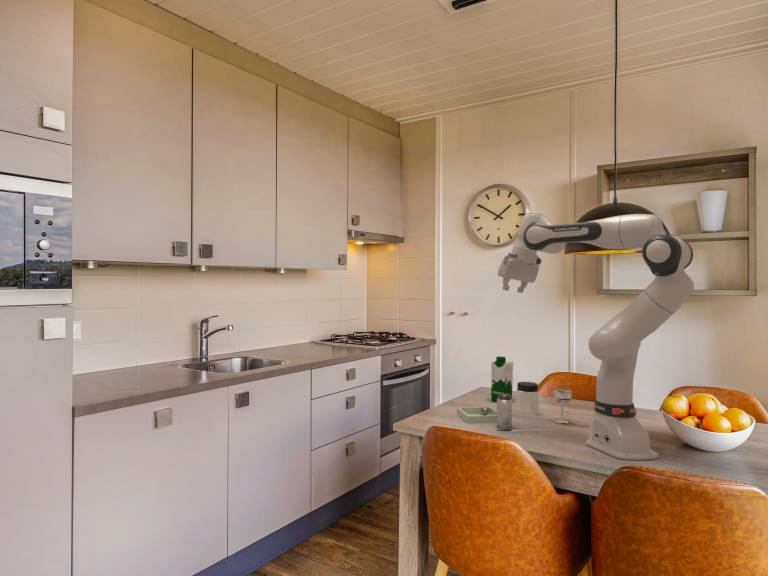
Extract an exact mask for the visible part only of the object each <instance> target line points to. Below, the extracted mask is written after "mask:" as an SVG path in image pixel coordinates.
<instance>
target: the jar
mask: <svg viewBox="0 0 768 576" xmlns="http://www.w3.org/2000/svg"><path fill="white" fill-rule="evenodd" d="M515 390H516V393H515V394H516V395H515V397H516V398H515V400H516V401H515V411H517V412H518V413H520V414H528V415H534V416H537V415H539V409H540V408H539V407H540V405H539V401H540V392H539V384H538V383H536V382H533V381H532V382H531V381H519V382H517V387H516V389H515Z"/></svg>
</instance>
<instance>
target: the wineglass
mask: <svg viewBox="0 0 768 576" xmlns="http://www.w3.org/2000/svg"><path fill="white" fill-rule="evenodd" d="M572 393H573V392H572V390H571V389H564V388H554V389H553V395H552V397H553V399H554V401H555V403H558V404H559V405H560V407H561V409H560V411H561V412H560V414H561V415H560V416H561V417H560V418H561V419H558V420H557V419H556V420H554V422H555V423H557V424H561V423H567V424H569V423H568V422H569V421H567V420H565V419H563V417H564V406H565V405H566V404H568V403H570V402H571V400H572V398H573V397H572Z"/></svg>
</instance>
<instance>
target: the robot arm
mask: <svg viewBox="0 0 768 576" xmlns="http://www.w3.org/2000/svg"><path fill="white" fill-rule="evenodd" d="M568 243H583V244H589V245H593V246H596V247H599V248H602V249H609V250H627V249H642V252H641V255H642V258H643V261H644V262H645V264H646V265H647V267H648V268H649V270H650V271H651V273H652V275H653V276H655V277H654V279H653V280H652V281H651V282H650V283H649V284H648V286H646V288H644V290H642V291H641V293H639V294H638V295H637V296H636V297H635V298H634V299H633V300H632V301H631V302H630V303H629V304H628V305H627V306H626V307H624V308H623V309H622V310H621V311H619V313H617V314H615V316H613V317H611V319H609V320H608V321H607V322H606V323H605V324H603V325H602V326H601V327H600V328H599V329H598V330H596V331H595V332H594V333H593V334H591V336H590V337H589V339H588V350H589V352H590V353H591V355H592V356H593V357H595V358H596V359H598V360H600V361H601V362H600V366H599V369H598V371H597V372H598V373H597V375H596V385H595V386H596V389H595V391H596V392H595V393H596V394H595V396H596V397H595V399H594V403H593V405H594V408H593V409H594V415H593V417H592V418H591V421H590V427H589V436H588V439H587V440H586V441H585V445H587V446H589V447H591V448H593V449H596V450H597V451H600V452H602V453H605V454H606V455H609V456H611V457H614V458H616V459H619V460H631V461H637V460H638V461H639V460H641V461H643V460H645V461H646V460H654V459H658V458H659V457H660V456H659V453H658V452H657V451H655V450H654V449H652V448H651V443H650V433H649V431H647V430H645V428H644V427H643V425H642V424H641V423H640V421H639V420H638V418H637V413H638V408H637V409H636V407H635V403H634V402H633V401H634V400H633V398H634V396H633V395H634V393H633V392H634V376H635V372H636V371H635V370H636V367H637V361H638V356H639V349H640V347H641V344H642V341H644V340H645V339H646V338H647V337H649V336H650V335H651V334H653V333H654V332H656V331H657V330H658V329H659V328H660V327H661V326H662V325H663V324H665V322H667V320H669V319H670V318H671V317H672V316H673V315H674V314H675V313H676V312H677V311H678V310H680V308H681V307H682V306H683V305H684V303H686V301H687V300H688V299H689V298H690V296H691V295H692V293H693V292H694V289H695V283H694V281H693V279H692V278H691V277H690V276H689V275H688V273H686V272H685V269H687V268H688V267H689V266H690V265H691V263H692V261H693V259H694V251H693V249H692V246H691V245H690V243H688V242H687V241H685V240H684V239H682V238H680V237H678V236H674V235H673V234H666V233H665V231H664V224H663V222H662V220H661V218H659V216H658V215H656V214H649V213H633V214H629V213H628V214H623V215H621V214H620V215H616V216H610V217H605V218H600V219H595V220H589V221H583V222H572V223H561V224H560V223H559V224H552V223H551V222H550V221H549V220H548V219H547V217H546V216H545V215H543V214H540V213H535V212H531V213H530V212H529V213H526V214H525V215H524V216H523V217H522V219H521V221H520V223H519V226H518V228H517V233H516V239H515V242H514V243H513V245H512V249H511V251H510V252H508V253H507V254H506V255H504V258H502V261H501V263H500V265H499V268H498V270H497V275H498V277H501V278H502V285H503V286H502V290H503V291H508V292H509V289H510V286H509V282H510V281H511V280H514V281H520V285H519V287H517V291H516V292H517V293H519V294H520V293H521V294H523V293H524V291H525V289H526V287H527V286H528V283H532V284H533V283H534V282H536V280H537V278H538V274H539V270H540V266H541V265H542V262H543V260H542V259H541V257H539V255H538V254H537V252H542V253H547V254H552V255H553V254H558V253H560V252H562V251H563V250H564V249H565V247H566V244H568Z"/></svg>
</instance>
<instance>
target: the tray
mask: <svg viewBox="0 0 768 576" xmlns="http://www.w3.org/2000/svg"><path fill="white" fill-rule="evenodd" d="M484 407H486V408H488V410H489V413H488V414H487V415H483V414H482V413H481V409H482V408H484ZM456 415H458V417H460V418H461V419H462V420H463V421H464V422H465V423H466V424H497V409H495V408H494V407H492V406H463V407H462V406H461V407H460V406H458V407H456Z"/></svg>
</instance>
